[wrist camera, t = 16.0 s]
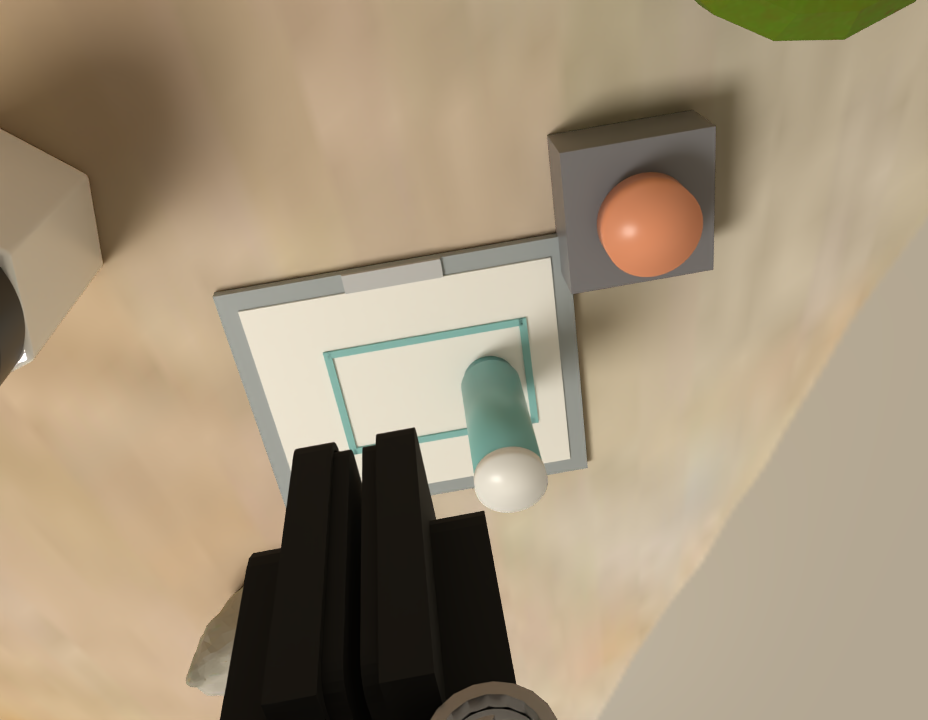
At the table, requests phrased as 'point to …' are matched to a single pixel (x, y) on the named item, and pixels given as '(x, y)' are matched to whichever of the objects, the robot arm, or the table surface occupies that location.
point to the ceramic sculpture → (215, 650)
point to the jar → (41, 247)
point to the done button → (649, 224)
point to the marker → (501, 437)
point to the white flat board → (409, 354)
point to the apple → (804, 16)
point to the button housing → (611, 161)
